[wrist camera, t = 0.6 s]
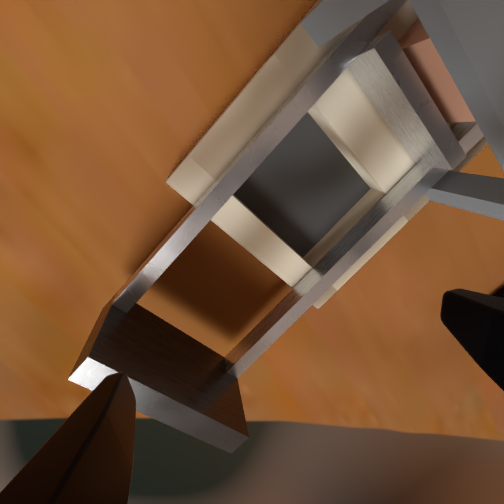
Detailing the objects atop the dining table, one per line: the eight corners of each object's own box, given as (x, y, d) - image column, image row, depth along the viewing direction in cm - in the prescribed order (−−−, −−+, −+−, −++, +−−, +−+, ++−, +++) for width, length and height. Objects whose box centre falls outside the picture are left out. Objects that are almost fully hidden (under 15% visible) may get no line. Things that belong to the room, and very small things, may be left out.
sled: (533, 66, 19) (677, 37, 13) (221, 376, 23) (231, 453, 17) (463, -103, 15) (624, -242, 9) (102, 308, 19) (67, 379, 13)
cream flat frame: (650, -43, 20) (697, -61, 18) (308, 296, 24) (318, 309, 22) (592, -325, 14) (651, -392, 13) (167, 177, 19) (165, 182, 17)
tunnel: (547, 85, 19) (761, 57, 12) (429, 200, 21) (559, 235, 14) (449, -153, 14) (728, -461, 7) (300, 22, 16) (399, -76, 8)
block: (488, 59, 18) (589, 34, 14) (425, 123, 19) (501, 120, 14) (451, -19, 16) (554, -78, 12) (383, 56, 17) (454, 28, 12)
